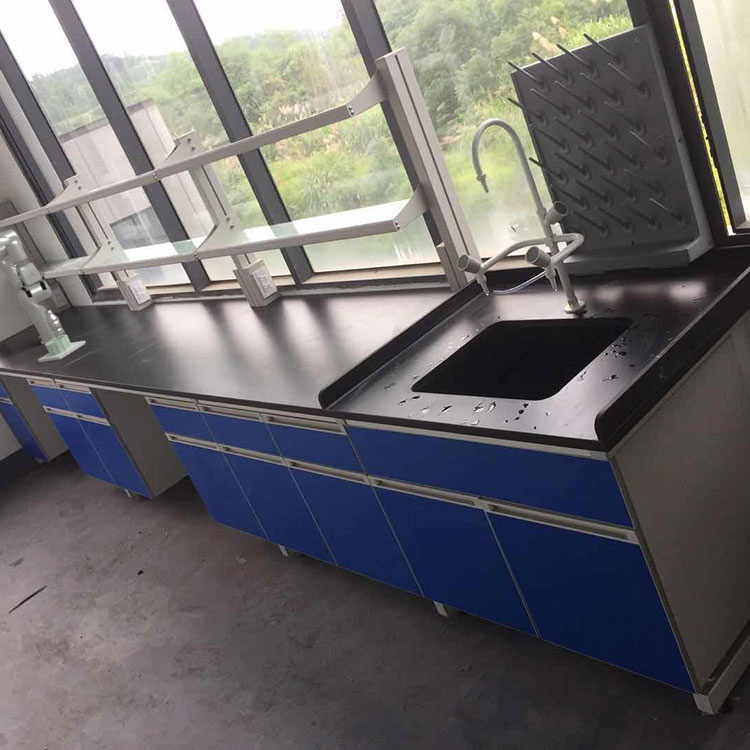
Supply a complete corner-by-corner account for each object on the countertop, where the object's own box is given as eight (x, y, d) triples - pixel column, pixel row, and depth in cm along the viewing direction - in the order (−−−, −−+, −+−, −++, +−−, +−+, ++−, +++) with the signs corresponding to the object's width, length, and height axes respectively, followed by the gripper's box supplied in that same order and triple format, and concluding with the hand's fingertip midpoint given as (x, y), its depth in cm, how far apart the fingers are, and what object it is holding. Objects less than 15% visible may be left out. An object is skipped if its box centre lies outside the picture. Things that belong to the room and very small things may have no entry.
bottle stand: (39, 362, 414) (32, 349, 411) (65, 346, 427) (58, 334, 425) (60, 359, 404) (52, 346, 401) (86, 343, 417) (79, 330, 415)
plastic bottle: (58, 348, 430) (40, 314, 422) (60, 344, 436) (42, 311, 429) (70, 343, 430) (52, 309, 423) (71, 340, 437) (54, 307, 430)
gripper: (12, 268, 407) (29, 299, 414) (39, 256, 420) (54, 286, 426) (4, 271, 412) (20, 301, 418) (31, 258, 424) (46, 287, 431)
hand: (38, 293), depth 422 cm, fingers open, 9 cm apart
